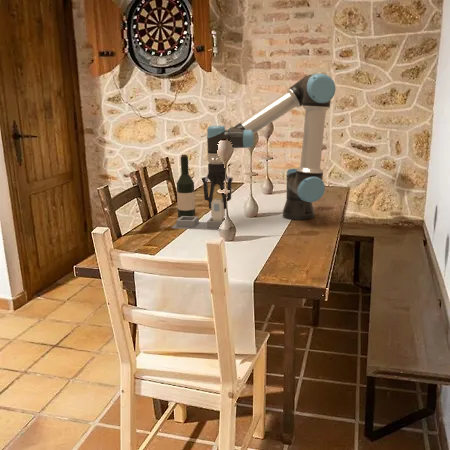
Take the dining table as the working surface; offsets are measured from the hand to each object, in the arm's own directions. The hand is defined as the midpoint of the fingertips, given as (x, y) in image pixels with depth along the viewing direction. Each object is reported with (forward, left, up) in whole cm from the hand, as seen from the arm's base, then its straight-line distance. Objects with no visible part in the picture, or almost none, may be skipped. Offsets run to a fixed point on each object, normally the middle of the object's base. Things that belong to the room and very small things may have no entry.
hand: (218, 215), depth 217 cm
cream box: (0, 0, -5) cm, 5 cm away
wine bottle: (+20, -18, -6) cm, 28 cm away
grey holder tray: (+7, 0, -6) cm, 9 cm away
